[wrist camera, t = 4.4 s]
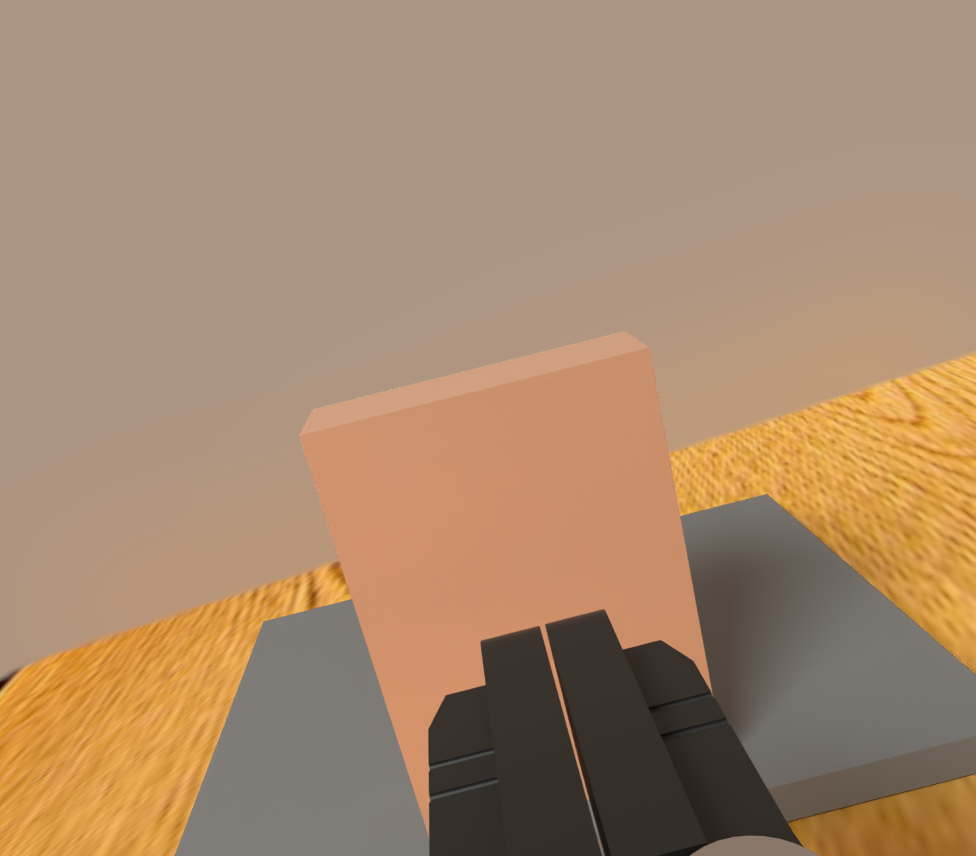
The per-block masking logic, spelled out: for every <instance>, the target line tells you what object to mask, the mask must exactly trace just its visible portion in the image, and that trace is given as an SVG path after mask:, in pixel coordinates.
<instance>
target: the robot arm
mask: <svg viewBox="0 0 976 856" xmlns="http://www.w3.org/2000/svg"><path fill="white" fill-rule="evenodd" d="M545 627H546V631H547V635H548V640H549V644H550V648H551V652H552V656H553V660H554V664H555V668H556V672H557V676H558V680H559V684H560V688H561V692H562V696H563V700H564V704H565V708H566V712H567V716H568V720H569V724H570V728H571V732H572V736H573V740H574V744H575V748H576V752H577V756H578V760H579V763H580V767H581V771H582V775H583V779H584V782H585V786H586V790H587V793H588V797H589V801H590V804H591V808H592V812H593V815H594V819H595V822H596V826H597V830H598V833H599V837H600V841H601V844H602V848H603V852H604V855H605V856H818V855H817V854H815V853H814V852H812V851H811V850H808V849H806V848H804V847H803V846H802V845H801V843H800V842H799V840H798V839H797V837H796V836H795V835H794V833H793V832H792V830H791V828H790V827H789V825H788V823H787V821H786V820H785V818H784V816H783V814H782V813H781V811H780V809H779V808H778V806H777V804H776V802H775V801H774V799H773V797H772V795H771V794H770V792H769V790H768V789H767V787H766V785H765V783H764V782H763V780H762V778H761V777H760V775H759V773H758V771H757V770H756V768H755V766H754V764H753V763H752V761H751V759H750V758H749V756H748V754H747V752H746V751H745V749H744V747H743V745H742V744H741V742H740V740H739V739H738V737H737V735H736V733H735V732H734V730H733V728H732V727H731V725H729V724H728V722H727V718H726V716H725V714H724V713H723V711H722V709H721V708H720V706H719V704H718V702H717V701H716V699H715V698H713V696H712V693H711V690H710V689H709V687H708V685H707V683H706V682H705V680H704V678H703V677H702V675H701V673H700V671H699V670H698V668H697V666H696V664H695V663H694V661H693V660H691V659H690V658H688V657H687V656H685V655H684V654H682V653H681V652H679V651H677V650H676V649H674V648H673V647H671V646H670V645H668V644H667V643H665V642H663V641H662V640H658V641H654V642H650V643H647V644H643V645H639V646H635V647H631V648H627V649H622V647H621V645H620V642H619V640H618V638H617V635H616V633H615V631H614V629H613V626H612V624H611V622H610V619H609V617H608V615H607V613H606V611H605V610H604V609H602V610H598V611H594V612H590V613H586V614H582V615H578V616H574V617H570V618H566V619H563V620H559V621H555V622H551V623H547V624H545ZM480 644H481V652H482V660H483V668H484V676H485V684H486V685H484V686H480V687H476V688H472V689H468V690H464V691H460V692H456V693H452V694H448V695H446V696H445V698H444V699H443V701H442V703H441V705H440V707H439V709H438V711H437V713H436V715H435V717H434V719H433V721H432V723H431V725H430V727H429V728H428V763H429V769H430V771H429V797H430V802H429V856H602V854H601V850H600V846H599V843H598V839H597V835H596V832H595V828H594V824H593V821H592V817H591V813H590V810H589V806H588V802H587V798H586V795H585V791H584V787H583V784H582V780H581V776H580V773H579V769H578V765H577V762H576V758H575V754H574V750H573V747H572V743H571V739H570V736H569V732H568V728H567V725H566V721H565V717H564V713H563V710H562V706H561V702H560V699H559V695H558V691H557V688H556V684H555V680H554V677H553V673H552V669H551V665H550V662H549V658H548V654H547V651H546V647H545V643H544V640H543V636H542V632H541V629H540V626H536V627H532V628H528V629H524V630H520V631H517V632H513V633H509V634H505V635H501V636H497V637H493V638H489V639H485V640H481V642H480Z"/></svg>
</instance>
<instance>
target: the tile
mask: <svg viewBox="0 0 976 856" xmlns="http://www.w3.org/2000/svg"><path fill="white" fill-rule="evenodd" d="M299 437H300V440H301V443H302V446H303V449H304V452H305V455H306V459H307V462H308V465H309V468H310V471H311V474H312V477H313V480H314V483H315V487H316V490H317V493H318V496H319V499H320V502H321V505H322V508H323V511H324V514H325V517H326V521H327V524H328V527H329V530H330V532H331V536H332V539H333V542H334V545H335V548H336V551H337V555H338V558H339V561H340V564H341V567H342V570H343V573H344V576H345V579H346V582H347V585H348V589H349V592H350V595H351V598H352V601H353V604H354V607H355V610H356V613H357V616H358V619H359V623H360V626H361V629H362V632H363V635H364V638H365V641H366V644H367V647H368V650H369V653H370V657H371V660H372V663H373V666H374V669H375V672H376V675H377V678H378V681H379V684H380V687H381V691H382V694H383V697H384V700H385V703H386V706H387V709H388V712H389V715H390V718H391V721H392V725H393V728H394V731H395V734H396V737H397V740H398V743H399V746H400V749H401V752H402V755H403V759H404V762H405V765H406V768H407V771H408V774H409V777H410V780H411V783H412V786H413V789H414V793H415V796H416V799H417V802H418V805H419V808H420V811H421V814H422V817H423V820H424V823H425V827H426V830H427V833H428V836H429V802H430V797H429V771H430V769H429V763H428V728H429V727H430V725H431V723H432V721H433V719H434V717H435V715H436V713H437V711H438V709H439V707H440V705H441V703H442V701H443V699H444V698H445V696H446V695H448V694H452V693H456V692H460V691H464V690H468V689H472V688H476V687H480V686H484V685H486V684H485V676H484V668H483V660H482V652H481V644H480V642H481V640H485V639H489V638H493V637H497V636H501V635H505V634H509V633H513V632H517V631H520V630H524V629H528V628H532V627H536V626H540V629H541V632H542V636H543V640H544V643H545V647H546V651H547V654H548V658H549V662H550V665H551V669H552V673H553V677H554V680H555V684H556V688H557V691H558V695H559V699H560V702H561V706H562V710H563V713H564V717H565V721H566V725H567V728H568V732H569V736H570V739H571V743H572V747H573V750H574V754H575V758H576V762H577V765H578V769H579V773H580V776H581V780H582V784H583V787H584V791H585V795H586V798H587V800H588V799H589V797H588V793H587V790H586V786H585V782H584V779H583V775H582V771H581V767H580V763H579V760H578V756H577V752H576V748H575V744H574V740H573V736H572V732H571V728H570V724H569V720H568V716H567V712H566V708H565V704H564V700H563V696H562V692H561V688H560V684H559V680H558V676H557V672H556V668H555V664H554V660H553V656H552V652H551V648H550V644H549V640H548V635H547V631H546V627H545V624H547V623H551V622H555V621H559V620H563V619H566V618H570V617H574V616H578V615H582V614H586V613H590V612H594V611H598V610H602V609H604V610H605V611H606V613H607V615H608V617H609V619H610V622H611V624H612V626H613V629H614V631H615V633H616V635H617V638H618V640H619V642H620V645H621V647H622V649H627V648H631V647H635V646H639V645H643V644H647V643H650V642H654V641H658V640H662V641H663V642H665V643H667V644H668V645H670V646H671V647H673V648H674V649H676V650H677V651H679V652H681V653H682V654H684V655H685V656H687V657H688V658H690V659H691V660H693V661H694V663H695V664H696V666H697V668H698V670H699V671H700V673H701V675H702V677H703V678H704V680H705V682H706V683H707V685H708V687H709V689H710V690H711V693H712V689H711V683H710V678H709V672H708V667H707V661H706V656H705V650H704V645H703V639H702V634H701V628H700V623H699V617H698V612H697V606H696V601H695V595H694V590H693V584H692V579H691V573H690V568H689V562H688V557H687V551H686V546H685V540H684V535H683V529H682V524H681V518H680V513H679V507H678V502H677V496H676V491H675V485H674V480H673V474H672V469H671V463H670V458H669V452H668V447H667V442H666V437H665V431H664V425H663V420H662V414H661V409H660V403H659V398H658V392H657V387H656V381H655V376H654V370H653V365H652V359H651V354H650V348H649V347H648V346H646V345H645V344H643V343H642V342H640V341H639V340H637V339H636V338H635V337H633V336H632V335H630V334H628V333H627V332H626V331H622V332H618V333H614V334H611V335H607V336H603V337H599V338H595V339H591V340H587V341H583V342H579V343H575V344H571V345H567V346H563V347H559V348H555V349H551V350H547V351H543V352H539V353H535V354H531V355H527V356H523V357H519V358H515V359H511V360H507V361H503V362H499V363H495V364H491V365H487V366H483V367H479V368H475V369H471V370H467V371H464V372H459V373H455V374H452V375H447V376H443V377H440V378H436V379H432V380H428V381H424V382H420V383H416V384H412V385H408V386H404V387H400V388H396V389H392V390H388V391H384V392H380V393H376V394H372V395H368V396H364V397H360V398H356V399H352V400H349V401H344V402H340V403H336V404H332V405H328V406H325V407H321V408H317V409H313V410H312V412H311V414H310V416H309V418H308V419H307V421H306V423H305V425H304V427H303V429H302V431H301V433H300V435H299ZM712 696H713V694H712Z"/></svg>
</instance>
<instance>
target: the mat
mask: <svg viewBox="0 0 976 856" xmlns="http://www.w3.org/2000/svg"><path fill="white" fill-rule="evenodd" d="M680 518H681V524H682V529H683V535H684V540H685V546H686V551H687V557H688V562H689V568H690V573H691V579H692V584H693V590H694V595H695V601H696V606H697V612H698V617H699V623H700V628H701V634H702V639H703V645H704V650H705V656H706V661H707V667H708V672H709V678H710V683H711V689H712V694H713V698H715V699H716V701H717V702H718V704H719V706H720V708H721V709H722V711H723V713H724V714H725V716H726V718H727V722H728V724H729V725H731V727H732V728H733V730H734V732H735V733H736V735H737V737H738V739H739V740H740V742H741V744H742V745H743V747H744V749H745V751H746V752H747V754H748V756H749V758H750V759H751V761H752V763H753V764H754V766H755V768H756V770H757V771H758V773H759V775H760V777H761V778H762V780H763V782H764V783H765V785H766V787H767V789H768V790H769V792H770V794H771V795H772V797H773V799H774V801H775V802H776V804H777V806H778V808H779V809H780V811H781V813H782V814H783V816H784V818H785V820H786V821H787V822H788V821H792V820H796V819H800V818H804V817H808V816H811V815H815V814H819V813H823V812H827V811H831V810H835V809H839V808H843V807H847V806H851V805H854V804H858V803H862V802H866V801H870V800H874V799H878V798H882V797H886V796H890V795H894V794H897V793H901V792H905V791H909V790H913V789H917V788H921V787H925V786H929V785H933V784H937V783H940V782H944V781H948V780H952V779H956V778H960V777H964V776H968V775H972V774H976V675H975V674H974V673H973V672H972V671H970V670H969V669H968V668H967V667H966V666H965V665H964V664H962V663H961V662H960V661H959V660H958V659H957V658H955V657H954V656H953V655H952V654H951V653H950V652H949V651H947V650H946V649H945V648H944V647H943V646H942V645H940V644H939V643H938V642H937V641H936V640H935V639H934V638H932V637H931V636H930V635H929V634H928V633H927V632H925V631H924V630H923V629H922V628H921V627H920V626H919V625H917V624H916V623H915V622H914V621H913V620H912V619H911V618H909V617H908V616H907V615H906V614H905V613H904V612H902V611H901V610H900V609H899V608H898V607H897V606H896V605H894V604H893V603H892V602H891V601H890V600H889V599H887V598H886V597H885V596H884V595H883V594H882V593H881V592H879V591H878V590H877V589H876V588H875V587H874V586H872V585H871V584H870V583H869V582H868V581H867V580H866V579H864V578H863V577H862V576H861V575H860V574H859V573H857V572H856V571H855V570H854V569H853V568H852V567H851V566H849V565H848V564H847V563H846V562H845V561H844V560H842V559H841V558H840V557H839V556H838V555H837V554H836V553H834V552H833V551H832V550H831V549H830V548H829V547H827V546H826V545H825V544H824V543H823V542H822V541H821V540H819V539H818V538H817V537H816V536H815V535H814V534H812V533H811V532H810V531H809V530H808V529H807V528H806V527H804V526H803V525H802V524H801V523H800V522H799V521H797V520H796V519H795V518H794V517H793V516H792V515H791V514H789V513H788V512H787V511H786V510H785V509H784V508H782V507H781V506H780V505H779V504H778V503H777V502H776V501H774V500H773V499H772V498H771V497H770V496H769V495H768V494H766V495H762V496H758V497H754V498H750V499H746V500H742V501H738V502H734V503H730V504H726V505H722V506H718V507H714V508H711V509H707V510H703V511H699V512H695V513H691V514H687V515H683V516H680ZM587 802H588V806H589V810H590V813H591V817H592V821H593V824H594V828H595V832H596V835H597V839H598V843H599V846H600V850H601V854H602V856H605V855H604V852H603V848H602V844H601V841H600V837H599V833H598V830H597V826H596V822H595V819H594V815H593V812H592V808H591V804H590V801H589V799H588V800H587ZM175 856H429V836H428V833H427V830H426V827H425V823H424V820H423V817H422V814H421V811H420V808H419V805H418V802H417V799H416V796H415V793H414V789H413V786H412V783H411V780H410V777H409V774H408V771H407V768H406V765H405V762H404V759H403V755H402V752H401V749H400V746H399V743H398V740H397V737H396V734H395V731H394V728H393V725H392V721H391V718H390V715H389V712H388V709H387V706H386V703H385V700H384V697H383V694H382V691H381V687H380V684H379V681H378V678H377V675H376V672H375V669H374V666H373V663H372V660H371V657H370V653H369V650H368V647H367V644H366V641H365V638H364V635H363V632H362V629H361V626H360V623H359V619H358V616H357V613H356V610H355V607H354V604H353V601H352V599H351V600H347V601H343V602H339V603H335V604H331V605H327V606H323V607H319V608H315V609H311V610H307V611H304V612H300V613H296V614H292V615H288V616H284V617H280V618H276V619H272V620H268V621H264V622H263V624H262V627H261V630H260V632H259V635H258V637H257V640H256V643H255V645H254V648H253V651H252V653H251V656H250V659H249V661H248V664H247V667H246V669H245V672H244V674H243V677H242V680H241V682H240V685H239V688H238V690H237V693H236V696H235V698H234V701H233V703H232V706H231V709H230V711H229V714H228V717H227V719H226V722H225V725H224V727H223V730H222V732H221V735H220V738H219V740H218V743H217V746H216V748H215V751H214V754H213V756H212V759H211V761H210V764H209V767H208V769H207V772H206V775H205V777H204V780H203V783H202V785H201V788H200V790H199V793H198V796H197V798H196V801H195V804H194V806H193V809H192V812H191V814H190V817H189V819H188V822H187V825H186V827H185V830H184V833H183V835H182V838H181V841H180V843H179V846H178V848H177V851H176V854H175Z"/></svg>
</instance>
